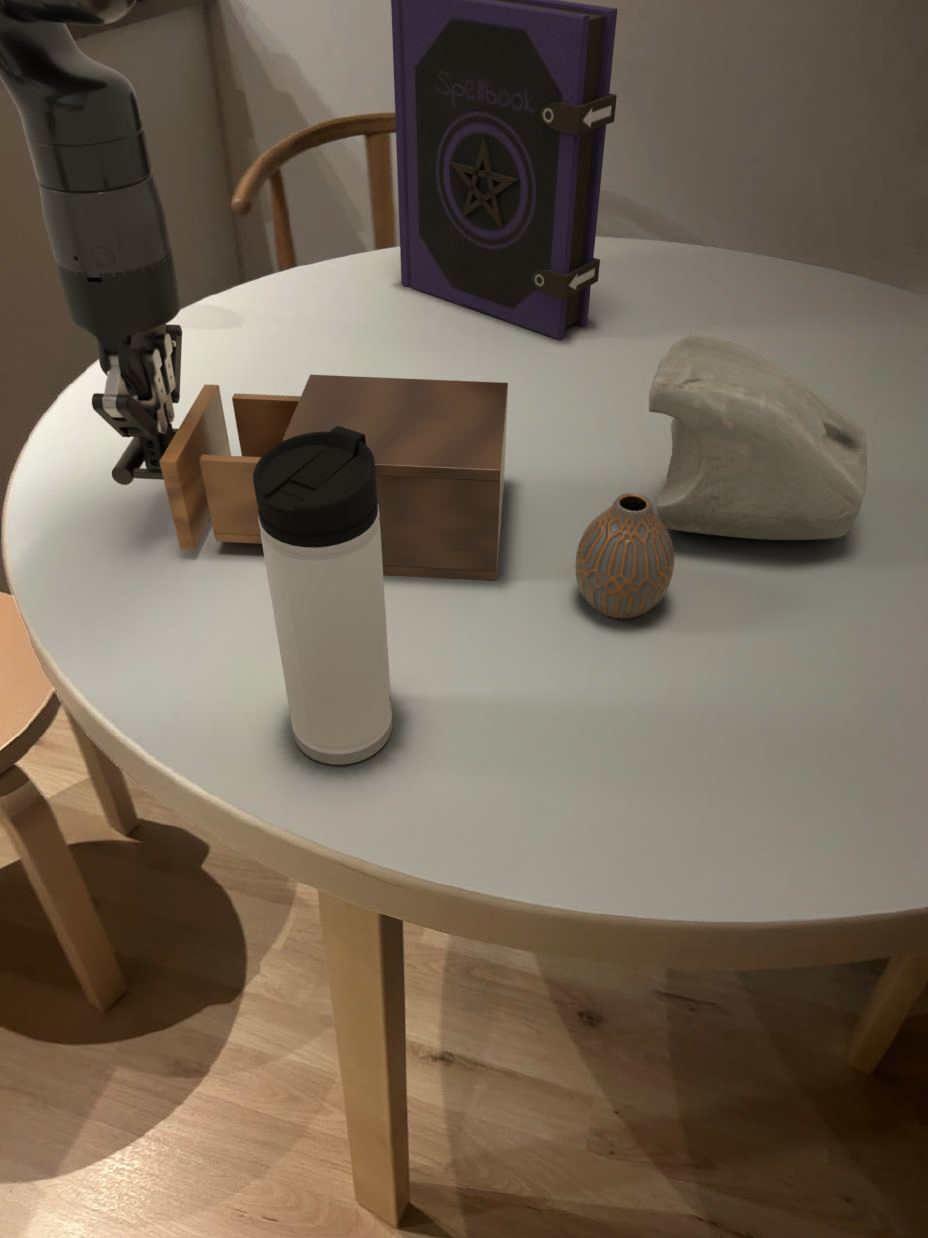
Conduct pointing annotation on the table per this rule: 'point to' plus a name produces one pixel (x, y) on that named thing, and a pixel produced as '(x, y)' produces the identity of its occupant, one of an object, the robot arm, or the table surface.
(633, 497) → the vase
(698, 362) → the decorative stone
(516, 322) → the book
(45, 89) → the robot arm
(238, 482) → the drawer
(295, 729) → the travel mug
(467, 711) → the table surface
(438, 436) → the cabinet
